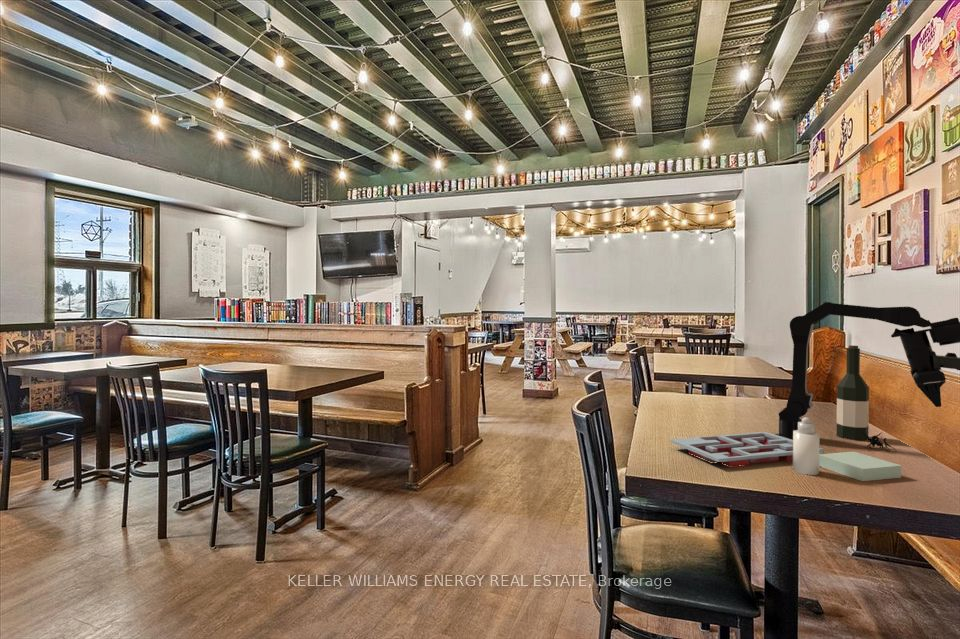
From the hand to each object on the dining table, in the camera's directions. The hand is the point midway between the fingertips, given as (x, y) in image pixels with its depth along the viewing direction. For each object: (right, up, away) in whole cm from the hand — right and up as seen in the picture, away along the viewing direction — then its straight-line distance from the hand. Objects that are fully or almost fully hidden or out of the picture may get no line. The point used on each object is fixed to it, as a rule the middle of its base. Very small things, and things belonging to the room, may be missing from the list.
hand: (937, 404), depth 133 cm
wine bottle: (-6, -15, +23) cm, 28 cm away
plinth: (-30, -16, -10) cm, 35 cm away
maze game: (-51, -16, +5) cm, 54 cm away
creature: (-9, -16, +9) cm, 20 cm away
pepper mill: (-44, -16, -10) cm, 47 cm away
